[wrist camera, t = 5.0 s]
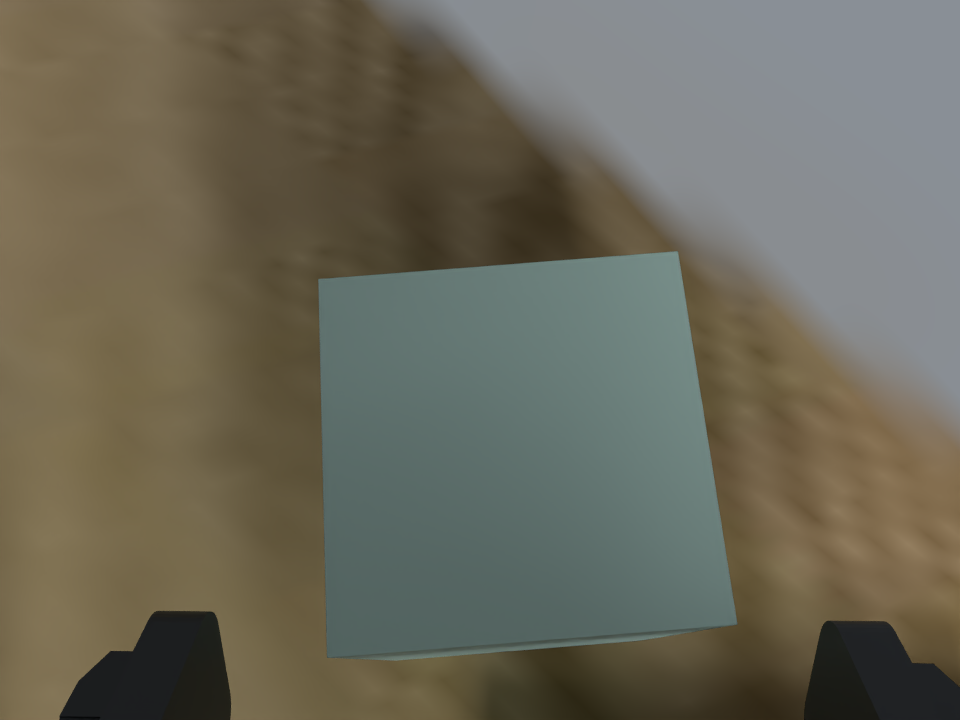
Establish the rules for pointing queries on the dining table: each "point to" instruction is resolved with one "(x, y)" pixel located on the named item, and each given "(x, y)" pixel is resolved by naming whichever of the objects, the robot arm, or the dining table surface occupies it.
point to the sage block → (515, 460)
